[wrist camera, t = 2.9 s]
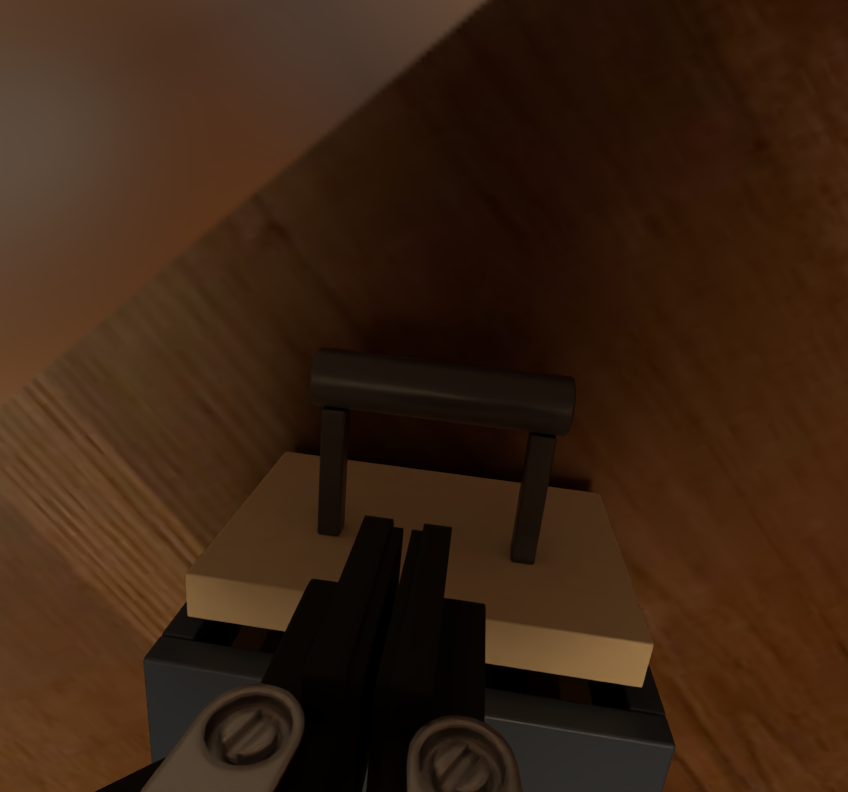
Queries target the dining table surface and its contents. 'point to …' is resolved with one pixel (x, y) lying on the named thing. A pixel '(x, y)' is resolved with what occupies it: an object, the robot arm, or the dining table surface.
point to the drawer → (446, 506)
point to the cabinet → (504, 711)
